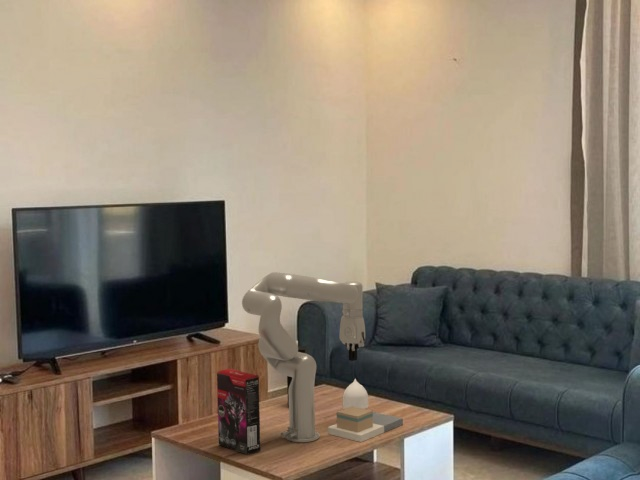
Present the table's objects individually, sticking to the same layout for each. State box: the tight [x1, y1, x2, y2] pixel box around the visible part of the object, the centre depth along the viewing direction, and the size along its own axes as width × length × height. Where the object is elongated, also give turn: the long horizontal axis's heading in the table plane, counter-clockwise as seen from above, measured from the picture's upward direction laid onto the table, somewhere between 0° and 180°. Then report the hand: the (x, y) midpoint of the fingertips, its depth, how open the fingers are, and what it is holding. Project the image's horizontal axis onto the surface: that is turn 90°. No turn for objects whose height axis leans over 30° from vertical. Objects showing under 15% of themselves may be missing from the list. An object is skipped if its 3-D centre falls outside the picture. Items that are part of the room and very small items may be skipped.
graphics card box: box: [216, 368, 261, 455], centre depth 283 cm, size 17×7×27 cm, turn 45°
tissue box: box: [286, 340, 308, 409], centre depth 336 cm, size 8×8×28 cm
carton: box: [336, 406, 374, 432], centre depth 298 cm, size 9×10×6 cm
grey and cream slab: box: [326, 411, 404, 443], centre depth 303 cm, size 26×16×2 cm, turn 139°
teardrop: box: [342, 378, 370, 409], centre depth 334 cm, size 11×11×12 cm
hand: (352, 360), depth 311 cm, fingers closed
